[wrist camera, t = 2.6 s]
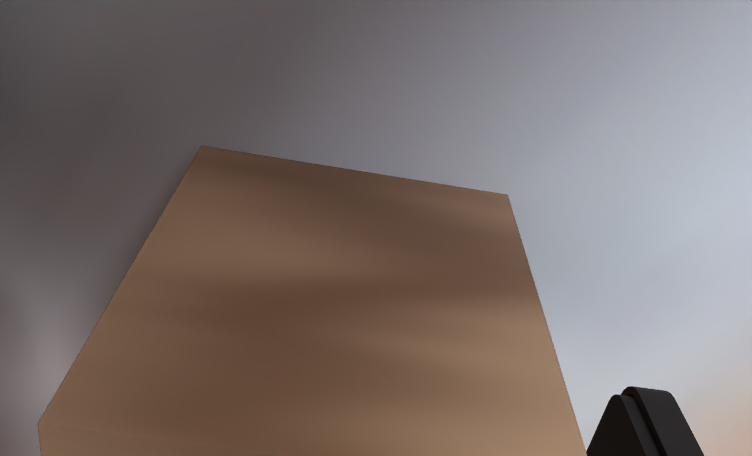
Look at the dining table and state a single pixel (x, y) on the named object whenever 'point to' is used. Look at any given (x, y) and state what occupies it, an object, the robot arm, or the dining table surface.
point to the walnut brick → (319, 326)
